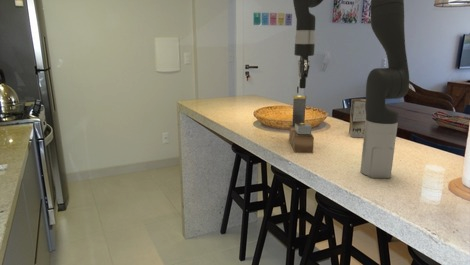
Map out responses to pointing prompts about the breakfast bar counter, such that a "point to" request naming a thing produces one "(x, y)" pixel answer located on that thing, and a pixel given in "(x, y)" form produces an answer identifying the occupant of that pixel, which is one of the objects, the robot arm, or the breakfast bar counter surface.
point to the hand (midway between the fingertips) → (302, 88)
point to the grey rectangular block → (303, 128)
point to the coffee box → (357, 118)
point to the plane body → (301, 141)
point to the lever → (298, 109)
